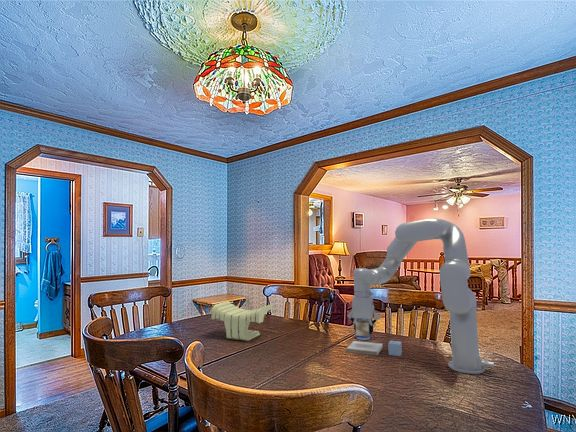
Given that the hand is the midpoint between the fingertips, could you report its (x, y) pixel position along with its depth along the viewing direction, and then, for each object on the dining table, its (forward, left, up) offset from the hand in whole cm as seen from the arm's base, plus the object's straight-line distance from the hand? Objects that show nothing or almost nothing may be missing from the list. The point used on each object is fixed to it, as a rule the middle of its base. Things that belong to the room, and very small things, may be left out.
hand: (363, 332), depth 157 cm
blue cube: (-14, +1, -8) cm, 16 cm away
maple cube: (0, 0, -1) cm, 1 cm away
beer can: (+5, -18, -8) cm, 20 cm away
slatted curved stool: (+67, +3, -8) cm, 67 cm away
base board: (0, 0, -8) cm, 8 cm away
